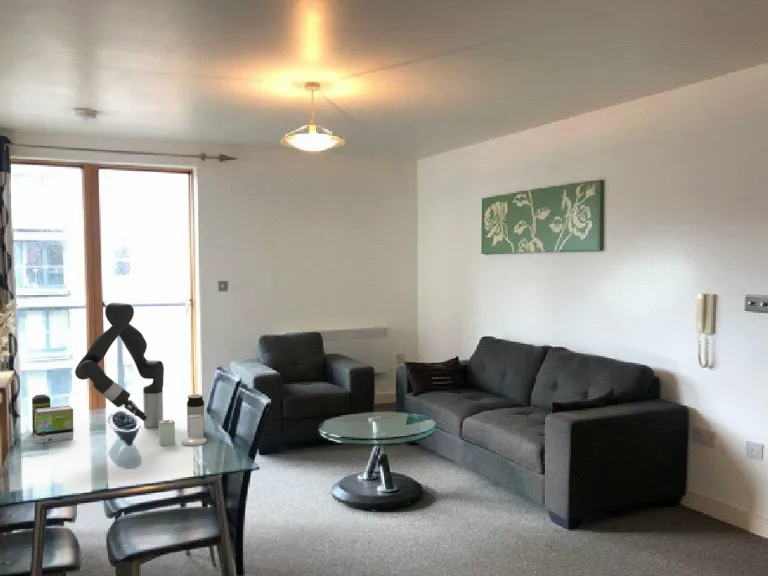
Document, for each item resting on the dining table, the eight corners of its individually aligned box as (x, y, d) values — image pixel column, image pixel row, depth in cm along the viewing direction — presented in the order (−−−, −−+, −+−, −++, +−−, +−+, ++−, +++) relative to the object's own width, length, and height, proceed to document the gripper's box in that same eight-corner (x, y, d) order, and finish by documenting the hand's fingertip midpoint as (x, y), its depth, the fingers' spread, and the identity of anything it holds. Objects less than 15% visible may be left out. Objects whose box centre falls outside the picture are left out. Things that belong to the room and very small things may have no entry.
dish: (179, 441, 300) (179, 439, 300) (203, 438, 306) (203, 435, 306) (184, 447, 291) (184, 444, 291) (209, 443, 296) (208, 441, 296)
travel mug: (194, 435, 312) (193, 397, 311) (184, 432, 316) (183, 395, 316) (208, 431, 318) (207, 395, 317) (197, 429, 323) (197, 393, 322)
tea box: (38, 444, 298) (37, 412, 297) (34, 440, 306) (33, 408, 305) (74, 439, 307) (73, 407, 306) (69, 434, 315) (69, 404, 314)
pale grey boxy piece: (159, 442, 299) (158, 420, 298) (172, 441, 301) (172, 418, 301) (161, 445, 293) (160, 422, 293) (175, 444, 296) (174, 421, 296)
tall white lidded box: (187, 436, 310) (187, 415, 310) (200, 434, 313) (200, 413, 313) (190, 439, 305) (190, 417, 304) (203, 437, 308) (203, 416, 307)
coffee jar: (52, 433, 317) (51, 395, 316) (33, 436, 313) (32, 397, 312) (49, 429, 325) (49, 392, 324) (31, 432, 321) (30, 394, 320)
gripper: (124, 390, 282) (152, 413, 287) (120, 385, 294) (147, 407, 300) (111, 403, 279) (140, 427, 285) (108, 398, 292) (135, 420, 298)
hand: (144, 417), depth 292 cm, fingers open, 8 cm apart
